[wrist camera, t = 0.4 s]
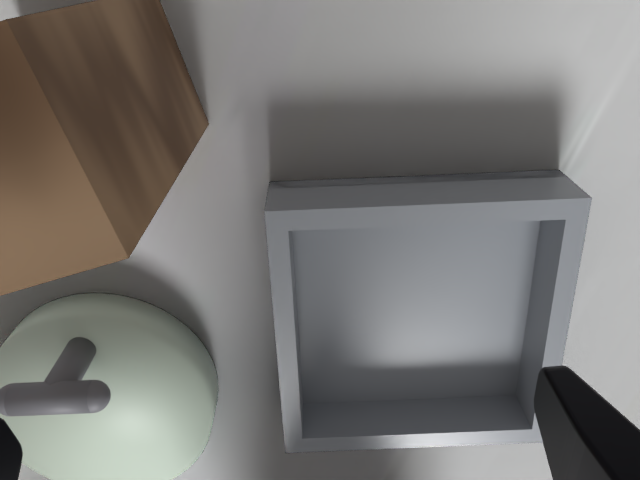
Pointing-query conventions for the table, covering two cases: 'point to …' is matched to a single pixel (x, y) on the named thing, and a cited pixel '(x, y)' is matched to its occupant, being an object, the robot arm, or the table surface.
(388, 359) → the tray
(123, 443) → the crank wheel
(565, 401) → the robot arm
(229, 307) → the table surface
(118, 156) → the block
